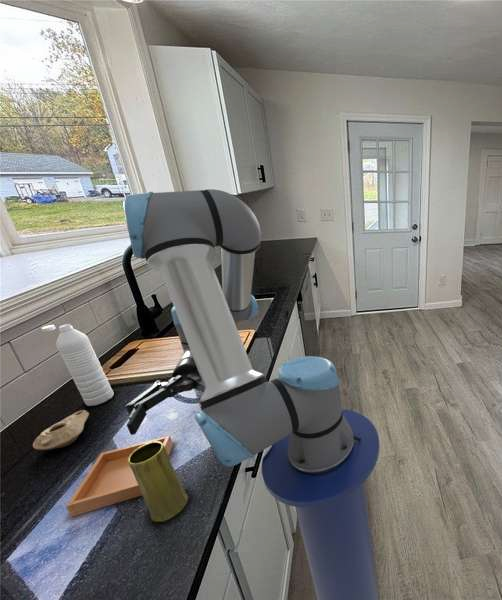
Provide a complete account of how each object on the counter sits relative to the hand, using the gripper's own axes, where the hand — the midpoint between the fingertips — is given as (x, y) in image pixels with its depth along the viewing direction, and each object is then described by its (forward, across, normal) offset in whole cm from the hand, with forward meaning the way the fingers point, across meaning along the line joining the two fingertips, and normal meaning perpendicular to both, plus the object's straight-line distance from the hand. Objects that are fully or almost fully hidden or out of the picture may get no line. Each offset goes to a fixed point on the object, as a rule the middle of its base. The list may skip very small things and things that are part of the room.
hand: (168, 420), depth 67 cm
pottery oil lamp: (-20, +30, -12) cm, 38 cm away
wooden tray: (0, +11, -12) cm, 16 cm away
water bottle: (-38, +32, -12) cm, 51 cm away
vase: (+12, 0, -12) cm, 17 cm away
